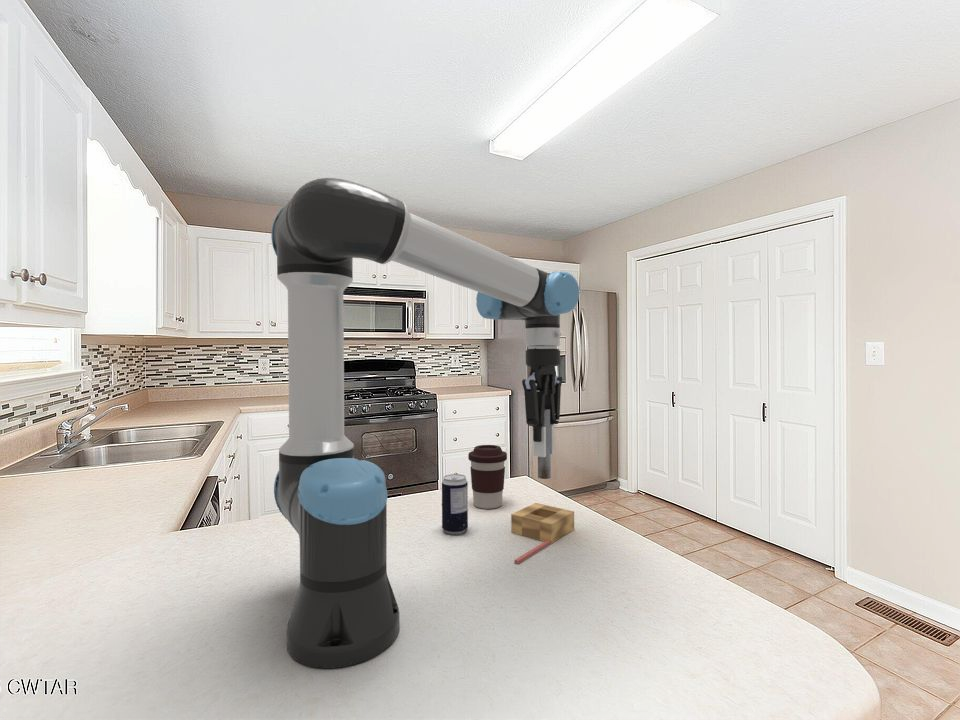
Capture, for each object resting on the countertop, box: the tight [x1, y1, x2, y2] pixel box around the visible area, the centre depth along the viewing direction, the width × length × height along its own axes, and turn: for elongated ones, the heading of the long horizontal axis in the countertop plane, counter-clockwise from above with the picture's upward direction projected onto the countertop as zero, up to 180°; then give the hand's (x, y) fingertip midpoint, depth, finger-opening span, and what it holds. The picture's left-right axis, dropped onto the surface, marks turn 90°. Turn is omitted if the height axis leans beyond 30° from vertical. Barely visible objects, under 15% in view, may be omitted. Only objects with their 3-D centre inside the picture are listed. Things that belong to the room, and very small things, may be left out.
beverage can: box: [441, 473, 469, 536], centre depth 104 cm, size 6×6×12 cm
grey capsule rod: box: [537, 408, 552, 480], centre depth 104 cm, size 3×3×15 cm
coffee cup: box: [467, 444, 508, 510], centre depth 122 cm, size 10×10×15 cm
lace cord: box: [514, 540, 552, 565], centre depth 93 cm, size 12×1×1 cm, turn 141°
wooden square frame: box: [510, 502, 575, 545], centre depth 104 cm, size 10×10×4 cm
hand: (543, 454), depth 104 cm, fingers closed on grey capsule rod, 3 cm apart
